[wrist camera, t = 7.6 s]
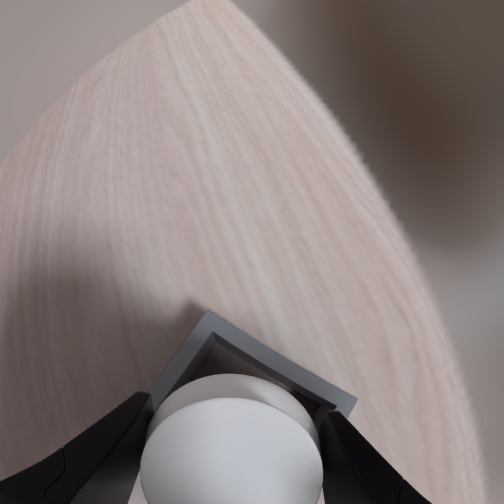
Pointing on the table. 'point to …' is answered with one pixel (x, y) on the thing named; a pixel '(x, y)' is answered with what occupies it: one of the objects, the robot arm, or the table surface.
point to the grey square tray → (252, 352)
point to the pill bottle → (231, 446)
